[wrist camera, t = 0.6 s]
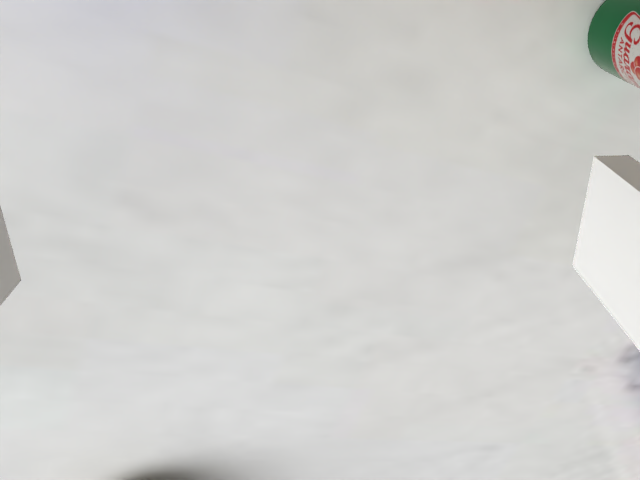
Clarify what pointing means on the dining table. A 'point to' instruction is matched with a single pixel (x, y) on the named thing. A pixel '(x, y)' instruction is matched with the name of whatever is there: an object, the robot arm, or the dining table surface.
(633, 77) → the soda can
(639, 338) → the robot arm
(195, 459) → the dining table surface
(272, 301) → the dining table surface
